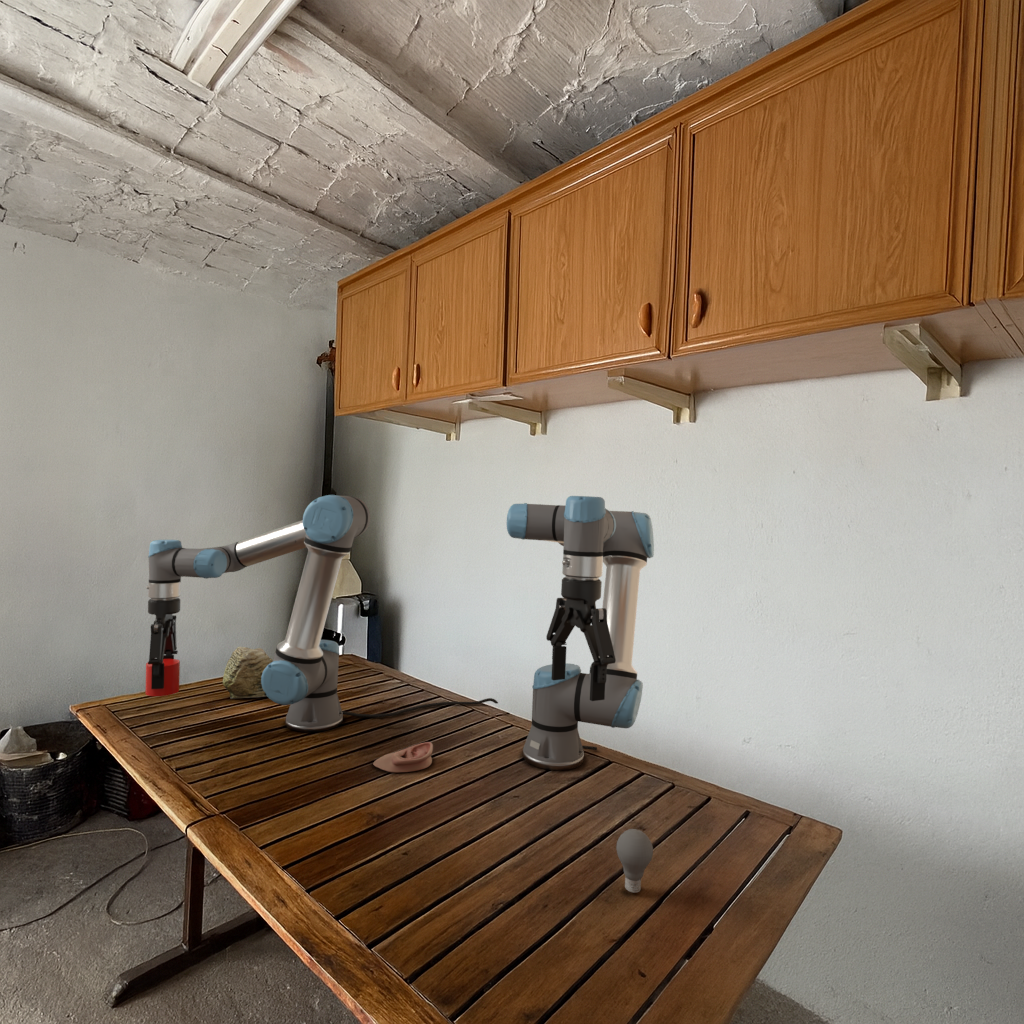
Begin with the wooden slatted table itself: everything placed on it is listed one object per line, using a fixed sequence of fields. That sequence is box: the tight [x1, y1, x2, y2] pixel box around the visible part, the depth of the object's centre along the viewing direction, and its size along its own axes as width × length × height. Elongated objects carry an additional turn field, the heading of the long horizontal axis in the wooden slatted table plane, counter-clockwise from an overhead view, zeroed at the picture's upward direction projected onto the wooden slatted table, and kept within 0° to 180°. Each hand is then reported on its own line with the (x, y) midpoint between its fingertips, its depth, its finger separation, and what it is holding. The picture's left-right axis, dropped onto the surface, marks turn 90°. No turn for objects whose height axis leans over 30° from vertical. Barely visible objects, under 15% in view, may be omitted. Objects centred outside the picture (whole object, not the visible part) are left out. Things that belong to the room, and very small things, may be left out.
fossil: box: [222, 646, 273, 699], centre depth 198 cm, size 9×18×15 cm, turn 132°
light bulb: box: [615, 828, 654, 894], centre depth 106 cm, size 6×6×10 cm
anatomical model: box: [372, 741, 434, 773], centre depth 152 cm, size 13×4×12 cm
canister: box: [144, 658, 181, 697], centre depth 168 cm, size 8×8×8 cm
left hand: (162, 683), depth 168 cm, fingers closed on canister, 8 cm apart
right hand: (576, 689), depth 120 cm, fingers open, 13 cm apart
